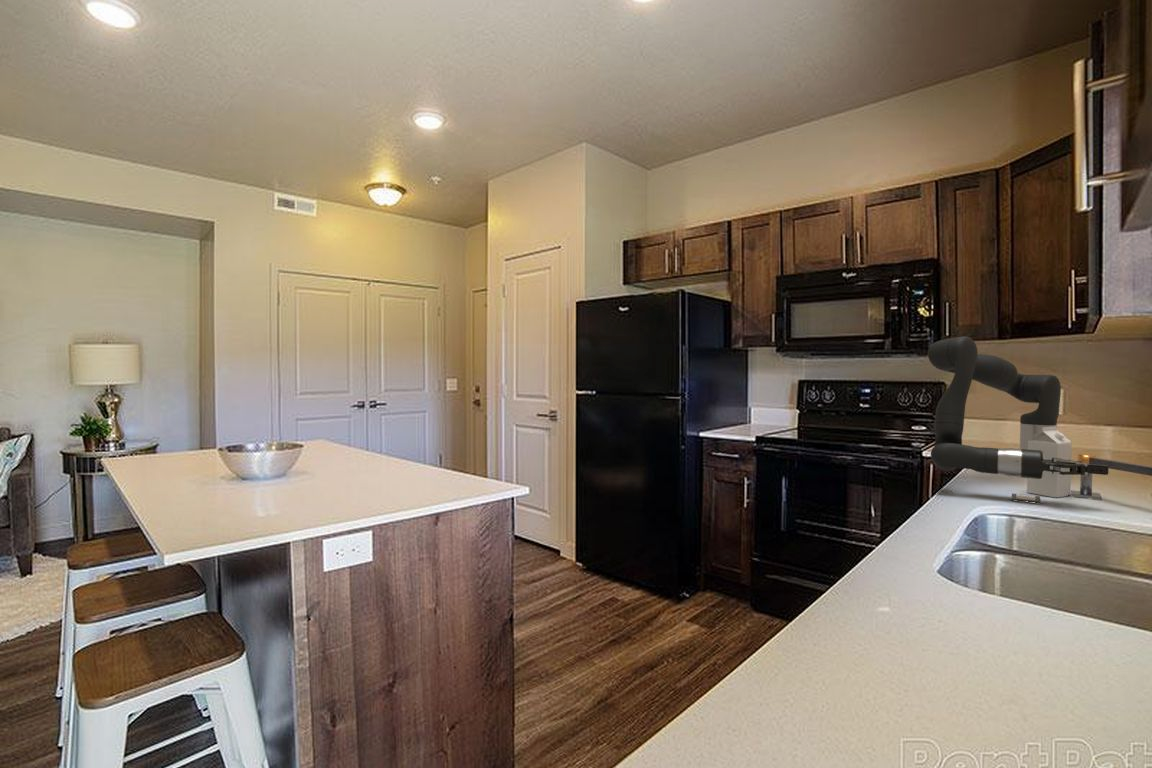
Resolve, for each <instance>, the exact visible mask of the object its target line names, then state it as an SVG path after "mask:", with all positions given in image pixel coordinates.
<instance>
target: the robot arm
mask: <svg viewBox="0 0 1152 768" xmlns="http://www.w3.org/2000/svg"><path fill="white" fill-rule="evenodd" d="M927 357H928V360H929V362H930V363H931V365H932V366H933V367H935V368H936V369H938V370H940V371H942V372H943V371H944V372H947V373H952V374H953V378H952V380H951V381H950V384H949V386H948V387H947V389H946V390H945V392H944V393H943V394H942V396H941V397H940V400H938V403H937V406H936V409H935V416H934V427H933V429H934V434H935V436H934V437H935V438H934V446H933V448H932V449H931V452H930V458H931V460H932V463H933V464H934V465H935V467H936V468H937V469H940V470H942V471H945V472H952V471H955V470H957V469H966V470H972V471H974V472H976V473H981V474H983V473H984V474H992V475H993V474H994V475H1000V476H1001V475H1002V476H1005V477H1016V478H1024V479H1027V478H1034V479H1041V478H1042V474H1043V471H1049V472H1052V474H1056V475H1061V474H1062V475H1071V476H1076V475H1077V476H1078V475H1079V476H1080V475H1085V474H1088V473H1090V474H1092V475H1101V476H1107V475H1108V476H1109V471H1110V470H1109V468H1108V466H1106V465H1095V464H1087V463H1084V462H1081V461H1078V460H1074V459H1071V460H1067V459H1061V458H1054V457H1052V460H1046V459H1045V460H1044V459H1043V452H1042V451H1040V450H1028V440H1030V439H1031V438H1033V437H1034V436H1036V435H1037V434H1039V433H1041V432H1042V428H1043V427H1055V426H1057V427H1058V418H1059V415H1060V403H1061V402H1060V401H1061V395H1062V394H1061V392H1062V390H1061V389H1062V386H1061V382H1060V380H1059V378H1058V377H1057V376H1055V375H1052V374H1023V373H1019V372H1018V369H1017V367H1016V365H1015V364H1013V363H1012V362H1010V361H1008V360H1007V359H1004V358H1001V357H999V356H996V355H992V354H983V353H978V347H977V344H976V342H975V340H973V338H971V337H969V336H966V335H965V336H957V337H952V338H946V339H941V340H938V341H935V342H933V343H932V344H930V346H929V348H928V349H927ZM972 380H973V381H976V382H977V383H980V384H982V385H985V386H987V387H990V388H992V389H996V390H998V391H1001V392H1003V393H1006V394H1008V395H1010V396H1012V397H1013V398H1014V399H1017V400H1018V401H1020V402H1024V403H1028V404H1029V403H1031V404H1038V406H1037V408H1036V409H1035V410H1033V411H1031V412H1027V413H1023V414H1021V415H1020V417H1019V418H1020V419H1019V421H1020V422H1019V448H1009V447H1008V448H1006V447H1005V448H997V447H985V446H984V447H979V446H978V447H977V446H972V445H967V444H963V438H962V437H963V432H964V428H965V427H964V425H965V412H966V403H967V398H968V395H969V391H970V387H971V385H972Z"/></svg>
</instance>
